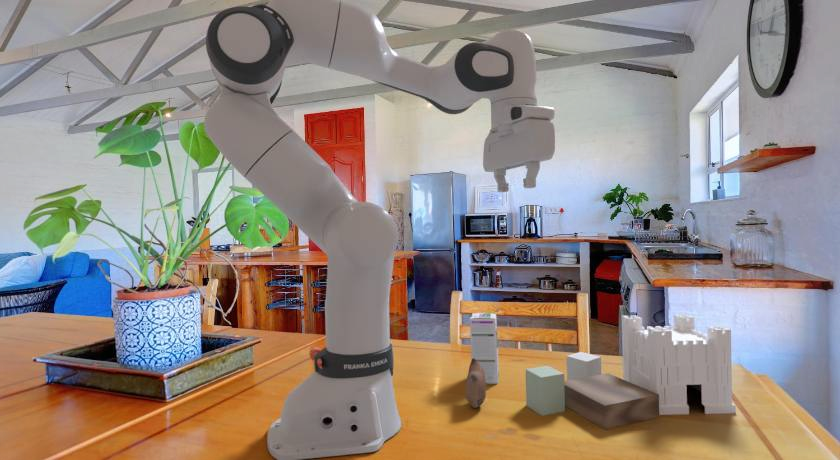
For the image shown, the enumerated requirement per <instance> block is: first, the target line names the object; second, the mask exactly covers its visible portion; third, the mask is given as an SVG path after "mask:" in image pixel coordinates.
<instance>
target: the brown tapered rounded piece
mask: <svg viewBox="0 0 840 460" xmlns="http://www.w3.org/2000/svg"><path fill="white" fill-rule="evenodd" d="M464 389H465V393H464V394H465V398H466V400H467V403H468V404H469V406H471V407H472V408H474V409H475V408H478V407H480V406H482V404H483V403H484V402H485V400H486V397H487V396H486V395H487V384H486V380H485V374H484V370H483V367H482V366H481V365H480V363H479V362H478V361H477V360H476V359H474V358H473V359H472V361H471V360H470V364H469V367H468V373H467V376H466V380H465V387H464Z"/></svg>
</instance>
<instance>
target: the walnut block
mask: <svg viewBox="0 0 840 460" xmlns="http://www.w3.org/2000/svg"><path fill="white" fill-rule="evenodd" d="M564 391H565V408H568V409H570V410H572V411H574V412H575V413H576V414H579V415H580V416H582V417H583V418H585V419H587V420H589V421H590V422H591V423H594V424H595V425H597V426H599V427H600V428H602V429H604V430H609V429H613V428H618V427H622V426H626V425H631V424H635V423H639V422H643V421H647V420H648V421H649V420H652V419H656V418H657V419H658V418H660V415H659V394H656V393H654V392H652V391H649V390H647V389H644V388H642V387H640V386H637V385H635V384H633V383H630V382H628V381H625V380H623V378H620V377H618V376H616V375H613V374H611V373H609V372H608V373H603V374H602V373H601V375H596V376H590V377H585V378H579V379H573V380H568V381H567V380H564Z"/></svg>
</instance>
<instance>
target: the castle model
mask: <svg viewBox="0 0 840 460" xmlns="http://www.w3.org/2000/svg"><path fill="white" fill-rule="evenodd" d="M671 328H672V329H671ZM621 340H622V341H621V345H622V348H621V349H622V379H623V380H625V381H628V382H630V383H633V384H635V385H637V386H640V387H642V388H644V389H647V390H649V391H652V392H654V393H656V394H659V416H661V415H662V416H663V415H664V416H665V415H669V416H670V415H690V406H689V404H688V394H687V389H688V388H687V386H690V385H691V386H690V387H692V388H693V387H694V388H693V389H696V390H697V391H699V393H701V405H702V406H704V414H706V415H709V414H711V415H713V414H715V415H717V414H721V415H722V414H737V413H736V412H737V409H736V407H737V406H736V405H735V404H734V403H733V379H732V378H733V374H732V373H733V369H732V368H733V367H732V363H733V362H732V330H731V329H730V328H727V327H725V326H720V325H718V326H717V325H715V326H713V325H712V326H707V333H704V332H702V331H698V330H696V329H695V317H694V316H692V315H690V314H685V313H684V314H683V313H682V314H676V313H675V314H673V325H672V327H671V326H670V325H663V326H661V325H655V327H654V326H651V325H650V326H647V325H646V329H645V326H643V318H642V317H639V316H638V315H636V314H634V315H621Z"/></svg>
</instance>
